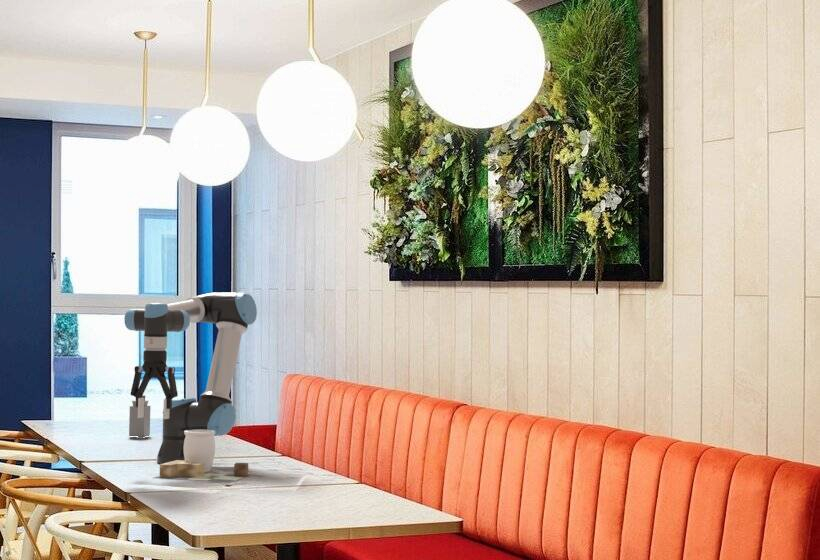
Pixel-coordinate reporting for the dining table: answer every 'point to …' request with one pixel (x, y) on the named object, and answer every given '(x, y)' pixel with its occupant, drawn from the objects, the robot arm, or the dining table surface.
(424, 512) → the dining table surface
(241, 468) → the walnut cube
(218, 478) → the mat
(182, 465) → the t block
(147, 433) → the perfume bottle
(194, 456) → the jar
